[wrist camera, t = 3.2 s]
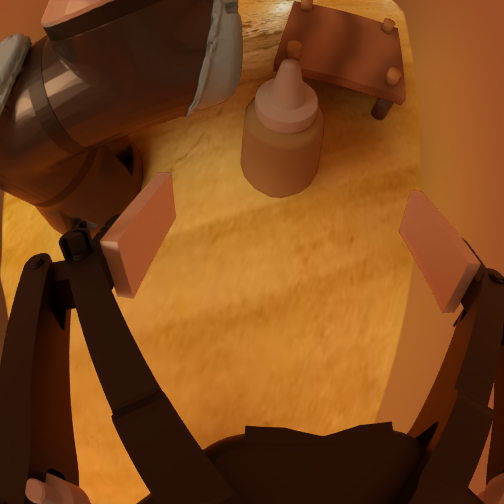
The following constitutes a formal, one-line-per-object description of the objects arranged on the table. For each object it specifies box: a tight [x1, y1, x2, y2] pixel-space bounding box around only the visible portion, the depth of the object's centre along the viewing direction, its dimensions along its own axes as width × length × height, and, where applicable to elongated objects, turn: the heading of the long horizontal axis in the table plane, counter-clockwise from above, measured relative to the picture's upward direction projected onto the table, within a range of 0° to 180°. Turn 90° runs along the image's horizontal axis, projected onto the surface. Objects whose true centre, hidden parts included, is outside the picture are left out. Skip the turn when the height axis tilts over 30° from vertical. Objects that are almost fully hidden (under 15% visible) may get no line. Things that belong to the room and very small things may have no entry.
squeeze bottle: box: [241, 59, 324, 198], centre depth 25 cm, size 8×8×18 cm
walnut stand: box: [273, 0, 406, 120], centre depth 32 cm, size 16×16×8 cm
